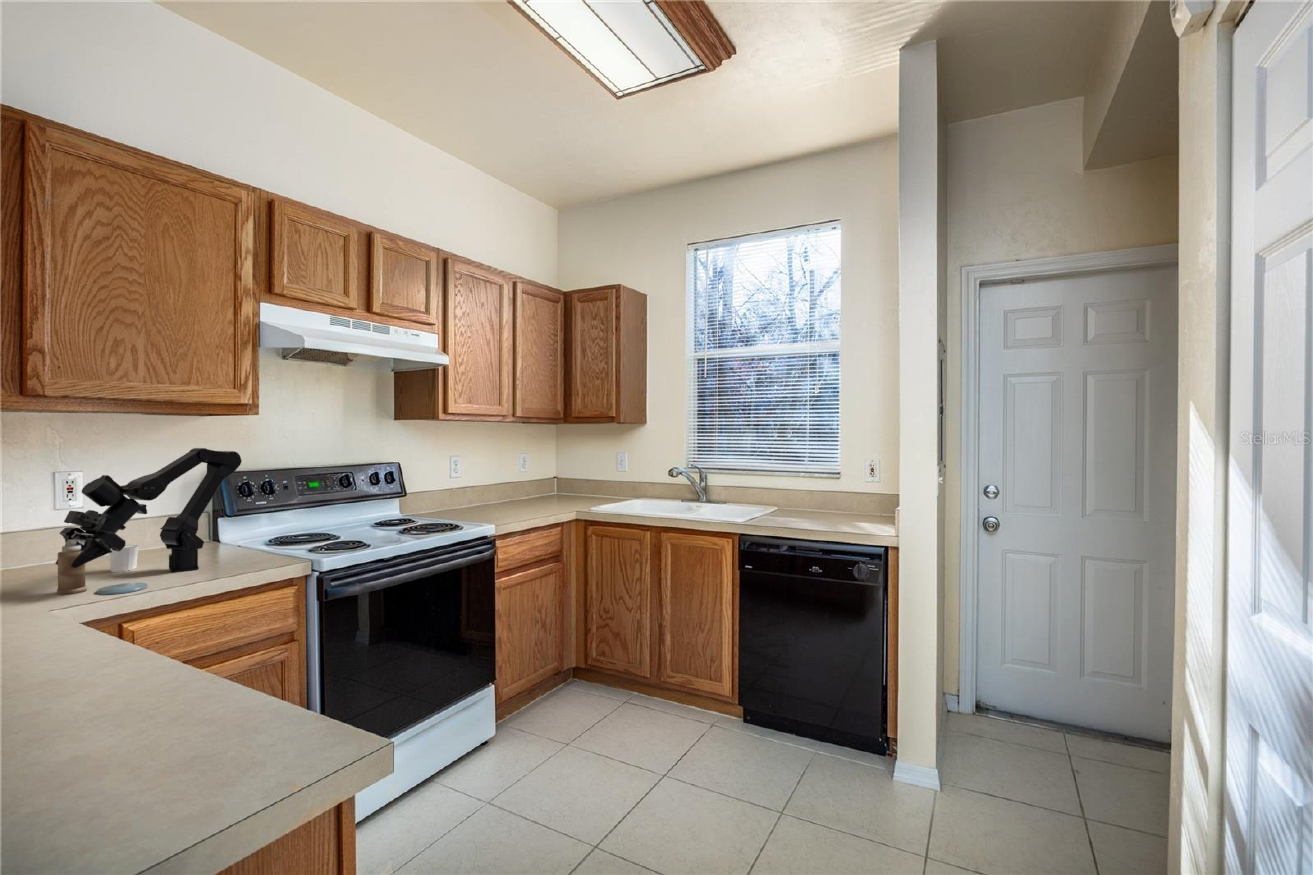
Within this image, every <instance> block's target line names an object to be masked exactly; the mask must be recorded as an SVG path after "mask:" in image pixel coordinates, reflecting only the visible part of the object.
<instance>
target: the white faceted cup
mask: <svg viewBox="0 0 1313 875" xmlns="http://www.w3.org/2000/svg"><path fill="white" fill-rule="evenodd" d="M139 548H140V546H139V545H138V544H137V545H136V544H125V547H124V548H123V549H122V550H121V551H113V550H112V548H111V549H110V550H111V551H112V553H108V556H109V562H110V563H109V564H110V571H111V573H123V572H122V571H125V572H129V571H128V570H131V571H133V570H132V569H135V568H136V569H137V563H138V554H139ZM136 569H135V570H136Z"/></svg>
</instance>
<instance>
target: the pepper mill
mask: <svg viewBox="0 0 1313 875" xmlns="http://www.w3.org/2000/svg"><path fill="white" fill-rule="evenodd" d="M65 544H66V545H67V546H65V545H63V546H61V551H59V552H57V559H58V565H57V589H56V595H57V596H68V595H69V596H70V595H77V594H81V593H84V592H86V591H88V590H87V588H88V587H87V586H88V585H86V563H85V564H83V565H81V566H78V567H76V568H73V567H72V566H71V565H72V563H73V562H74V561H75V559H76V558H77V557H78V556H79V555H80V553H81V552H82V551H83V550H81V545H76V544H77V541H76V540H75V539H70V540H68V541H67V542H66V543H65Z"/></svg>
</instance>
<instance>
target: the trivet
mask: <svg viewBox="0 0 1313 875" xmlns="http://www.w3.org/2000/svg"><path fill="white" fill-rule="evenodd" d="M146 588H148V583H146V582H127V583H117V584H112V585H108V586H107V585H106V586H103V587H100V588H99V589H96V590H97V591H96V593H97V595H101V596H102V595H103V596H104V595H105V596H107V595H108V596H109V595H111V596H112V595H121V594H122V595H123V594H129V593H130V594H131V593H134V592H139V591H142V590H145V589H146Z"/></svg>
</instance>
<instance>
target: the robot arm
mask: <svg viewBox="0 0 1313 875" xmlns="http://www.w3.org/2000/svg"><path fill="white" fill-rule="evenodd" d="M242 461H243V460H242V458H241V455H240V454H239V452H237V451H233V450H212V449H209V448H206V447H194V448H193V447H192V449H190V450H189V451H188V452H186V453H185V454H183V455H182V456H179V457H178V458H177V459H175V460H173V461H172V462H170V463H169V464H167V465H166V466H164V467H162V468H161V469H159V470H157V471H155V472H153V473H149V474H147V475H146V474H145V475H142V476H140V477H137V478H135V479H133V480H130V481H129V482H128V483H127V484H124V485H120V484H119V483H118V482H116V481H114V479H113V478H112V476H110V475H108V474H107V475H106V474H102V475H101V476H100V477H98V478H95V479H94V480H91V482H87V483H86V484H85V485H84V486H83V487H82V489H81V494H83V495H84V496H86V497H87V498H88V499H89V500H91V501H92V502H93V503H95V504H96V505H98V506H99V507H102V508H103V507H107V508H106V509H105V510H104V511H103V512H102V513H99V511H96V510H93V509H88V510H87V511H85V512H84V511H78V510H69V511H68V513H67V514H66V517H65V518H64V521H63V523H65V524H72V525H76V527H74V526H67V527H64V528H63V529H62V530H61V531H60V532H59V535H60V536H62V537H63V539H64V543H65V544H64V546H67V545H66V542H67V541H68V540H70V539H75V540H76V541H77V544H76V545H81V550H83V551H82V552H81V553H80V555H79V556H78V557H77V558H76V559H75V561H74V562H73V563H72V565H71V566H72V567H73V568H76V567H78V566H81V565H83V564H85V565H86V564H87V563H90V562H92V561H94V560H96V559H99V558H101V557H102V556H105V555H109V553H112V551H111V550H110V549H111V548H112V550H113V551H121V550H122V549H123V548H124V547H125V545H126V540H125V539H123V538H122V537H121V536H119V535H118V534H116V533H117V532H119V531H120V530H121V531H124V530H125V529H126V528H127V526H125V525H126V523H127V522H129V521H130V520H131V519H132V518H133V517H134V516H135V515H136V514H139V515H140V514H141V515H147V514H148V509H147V504H146V503H145V504H144V503H139V502H138V501H150V502H151V501H153V500H156V499H157V498H158V497H159V496H161V495H162V493H164V491H166V489H167V487H168V485H170V484H171V483H172V482H173V481H175V480H177V479H178V478H180V477H181V476H183V475H185V474H186V473H188V472H189V471H191V470H193V469H194V468H196V467H197V466H198V465H200V464H202V463H204V464H206V474H205V475H204V477H203V478H202V480H201V481H200V483H199V485H198V486H197V488H196V489H195V491H194V492H193V494H192V496H190V498H189V500H188V501H187V503H186V505H185V506H184V507H183V509H182V511H181V512H180V514H178V515H177V516H168V518H167V519H166V521H165V522H164V524H163V526H162V527H160V530H161V531H160V534H159V537H160V541H161V542H162V543H163V544H164V545H165V548H166V550H170V551H171V552H170V553H169V554H168V569H169V570H170V572H171V573H174V572H183V571H194V570H199V568H200V567H199V549H203V547H204V544H205V541H204V540H203V539H202V538H201V537H199V536H198V535H197V532H199V520H200V518H201V516H202V515H203V513H204V512H205V510H206V509H207V507H208V505H209V504H210V503H211V500H212V499H213V498H214V496H215V495H216V493H217V491H218V489H219V488H220V486H221V485H222V483H223V481H225V479H226V478H228V477H230V476H231V475H232V474H234V473H235V472H236V471H237V469H238V468H240V466H241V465H242V464H241V463H242ZM77 526H79V527H77ZM55 565H56V566H58V558H57V559H56V561H55Z"/></svg>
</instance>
